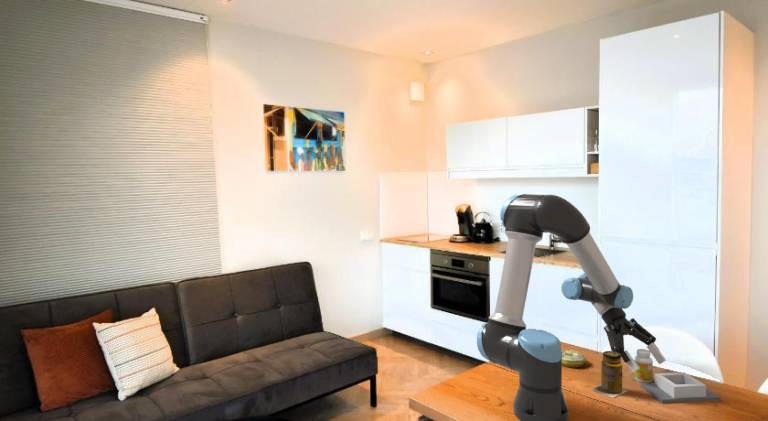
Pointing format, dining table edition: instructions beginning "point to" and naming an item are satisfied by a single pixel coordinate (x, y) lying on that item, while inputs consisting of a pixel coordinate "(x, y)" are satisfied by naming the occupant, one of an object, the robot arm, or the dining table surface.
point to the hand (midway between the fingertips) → (649, 366)
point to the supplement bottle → (643, 366)
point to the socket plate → (679, 389)
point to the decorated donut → (572, 358)
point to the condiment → (611, 375)
